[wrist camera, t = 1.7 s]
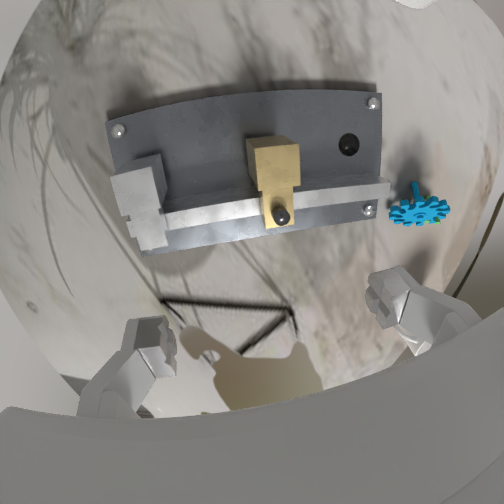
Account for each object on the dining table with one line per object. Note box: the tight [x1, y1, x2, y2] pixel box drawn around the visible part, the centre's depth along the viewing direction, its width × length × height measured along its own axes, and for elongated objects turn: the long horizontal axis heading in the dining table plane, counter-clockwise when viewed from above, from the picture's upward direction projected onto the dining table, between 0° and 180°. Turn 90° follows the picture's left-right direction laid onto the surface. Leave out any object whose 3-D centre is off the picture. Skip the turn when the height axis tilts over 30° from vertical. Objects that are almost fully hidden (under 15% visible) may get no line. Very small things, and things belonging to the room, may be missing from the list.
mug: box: [394, 324, 431, 356], centre depth 46 cm, size 12×8×12 cm
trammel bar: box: [110, 154, 391, 251], centre depth 28 cm, size 8×31×7 cm, turn 96°
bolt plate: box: [105, 89, 382, 257], centre depth 31 cm, size 18×33×2 cm, turn 96°
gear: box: [389, 182, 450, 226], centre depth 36 cm, size 11×6×10 cm
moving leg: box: [245, 135, 301, 229], centre depth 28 cm, size 8×4×7 cm, turn 6°
